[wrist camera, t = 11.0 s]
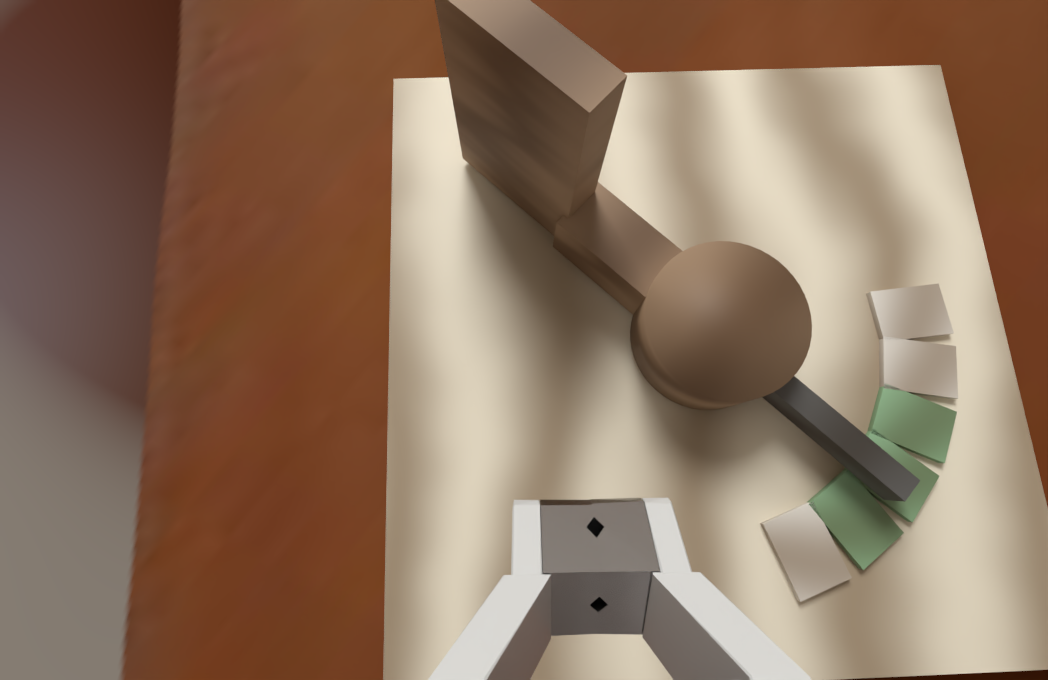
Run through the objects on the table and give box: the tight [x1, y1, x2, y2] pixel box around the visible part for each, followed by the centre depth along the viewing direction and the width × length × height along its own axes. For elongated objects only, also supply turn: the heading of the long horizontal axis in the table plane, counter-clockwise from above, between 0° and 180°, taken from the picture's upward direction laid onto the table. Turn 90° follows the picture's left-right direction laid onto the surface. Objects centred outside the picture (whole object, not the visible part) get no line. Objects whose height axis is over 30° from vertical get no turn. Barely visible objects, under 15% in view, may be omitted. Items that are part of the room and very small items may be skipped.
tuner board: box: [383, 65, 1048, 680], centre depth 24 cm, size 26×26×1 cm
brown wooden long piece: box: [435, 0, 920, 502], centre depth 19 cm, size 22×6×9 cm, turn 47°
